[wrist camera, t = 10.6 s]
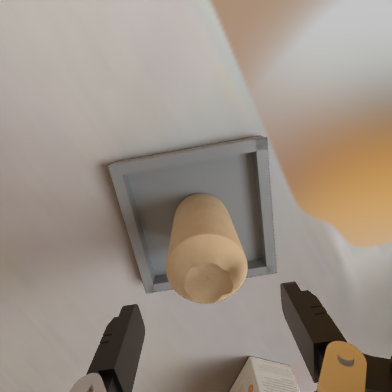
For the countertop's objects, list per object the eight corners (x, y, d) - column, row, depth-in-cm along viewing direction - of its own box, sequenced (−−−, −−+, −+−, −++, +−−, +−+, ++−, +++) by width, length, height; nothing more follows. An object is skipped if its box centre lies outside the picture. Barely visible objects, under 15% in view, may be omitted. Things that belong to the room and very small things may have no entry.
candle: (183, 185, 23) (177, 235, 13) (236, 201, 23) (267, 259, 14) (167, 234, 24) (153, 309, 15) (217, 247, 25) (234, 328, 15)
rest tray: (260, 135, 22) (267, 137, 20) (270, 261, 26) (276, 272, 24) (114, 161, 22) (107, 166, 20) (149, 281, 27) (146, 293, 25)
